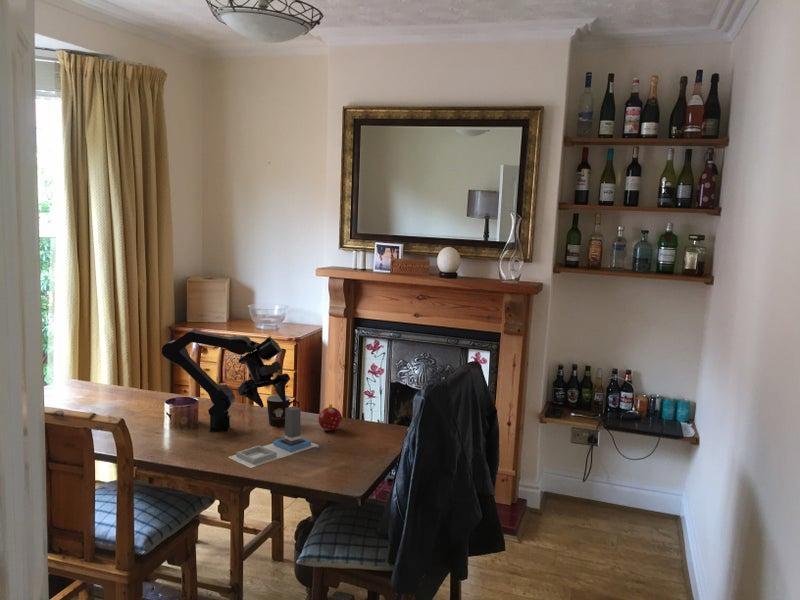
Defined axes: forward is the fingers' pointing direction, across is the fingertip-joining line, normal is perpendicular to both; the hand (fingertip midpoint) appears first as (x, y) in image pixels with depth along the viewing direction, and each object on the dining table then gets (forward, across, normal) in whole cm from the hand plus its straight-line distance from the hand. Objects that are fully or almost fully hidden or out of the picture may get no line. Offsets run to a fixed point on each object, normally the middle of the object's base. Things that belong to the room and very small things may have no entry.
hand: (274, 404), depth 218 cm
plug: (+16, 0, +1) cm, 16 cm away
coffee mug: (+1, +12, +18) cm, 21 cm away
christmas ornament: (+13, +22, +6) cm, 26 cm away
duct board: (+17, -7, +1) cm, 18 cm away
